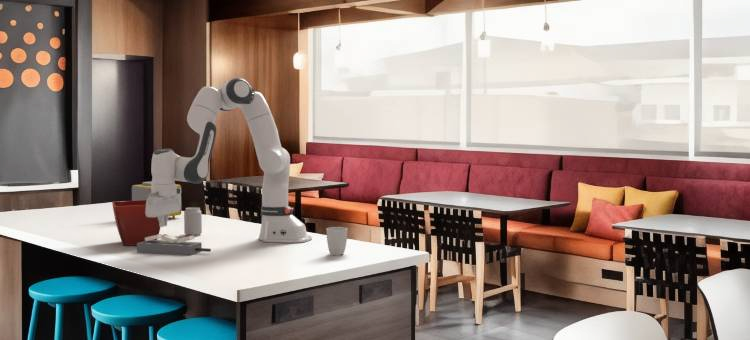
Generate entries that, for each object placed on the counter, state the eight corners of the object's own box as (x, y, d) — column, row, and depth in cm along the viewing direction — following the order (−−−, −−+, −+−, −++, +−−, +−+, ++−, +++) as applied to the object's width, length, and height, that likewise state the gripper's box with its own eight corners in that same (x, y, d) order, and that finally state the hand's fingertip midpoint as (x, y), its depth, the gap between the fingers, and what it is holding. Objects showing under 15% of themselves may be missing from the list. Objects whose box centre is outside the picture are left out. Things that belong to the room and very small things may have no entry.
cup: (336, 251, 334) (336, 226, 333) (351, 254, 329) (351, 228, 328) (322, 254, 328) (321, 228, 327) (337, 256, 322) (337, 230, 322)
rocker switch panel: (215, 252, 332) (215, 242, 332) (204, 256, 324) (204, 246, 323) (149, 248, 340) (149, 239, 340) (137, 252, 332) (136, 242, 332)
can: (197, 236, 371) (197, 209, 370) (181, 236, 373) (181, 208, 372) (204, 234, 378) (204, 207, 378) (188, 233, 380) (188, 206, 379)
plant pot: (112, 240, 359) (111, 200, 358) (159, 238, 366) (158, 199, 365) (116, 248, 342) (115, 206, 340) (165, 245, 348) (164, 204, 347)
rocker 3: (194, 238, 331) (193, 235, 331) (190, 240, 328) (189, 236, 328) (181, 242, 333) (180, 238, 333) (177, 243, 330) (176, 239, 330)
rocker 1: (161, 237, 335) (161, 233, 335) (157, 238, 332) (156, 234, 332) (149, 240, 337) (148, 236, 337) (145, 241, 334) (144, 237, 334)
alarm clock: (163, 215, 440) (163, 179, 439) (182, 218, 430) (182, 181, 429) (130, 219, 426) (129, 182, 424) (149, 222, 415) (148, 184, 414)
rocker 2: (177, 241, 333) (177, 238, 333) (172, 243, 330) (173, 239, 330) (164, 237, 335) (165, 233, 335) (160, 238, 332) (161, 235, 332)
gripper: (155, 193, 321) (156, 230, 322) (183, 188, 341) (183, 223, 342) (141, 193, 323) (141, 229, 324) (169, 188, 342) (169, 222, 344)
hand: (163, 226), depth 333 cm, fingers closed
